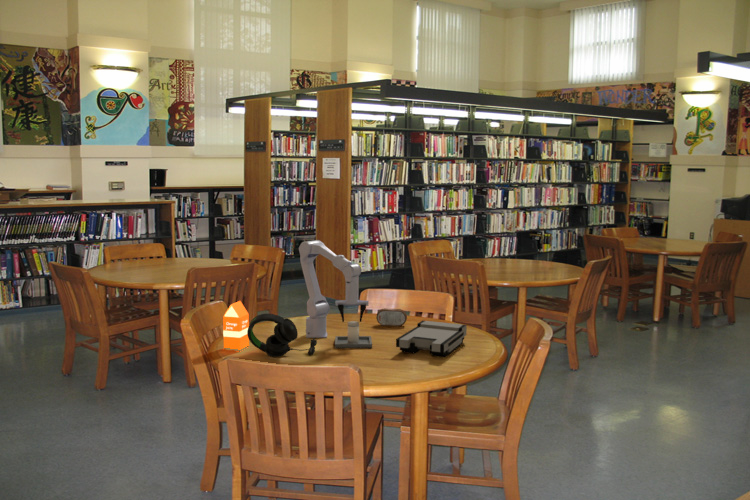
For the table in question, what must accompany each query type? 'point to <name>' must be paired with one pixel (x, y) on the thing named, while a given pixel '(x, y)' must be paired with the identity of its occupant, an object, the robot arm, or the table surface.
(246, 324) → the orange juice
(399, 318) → the tin
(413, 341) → the game console
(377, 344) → the table surface
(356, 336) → the cylinder
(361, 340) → the tray
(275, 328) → the headset
